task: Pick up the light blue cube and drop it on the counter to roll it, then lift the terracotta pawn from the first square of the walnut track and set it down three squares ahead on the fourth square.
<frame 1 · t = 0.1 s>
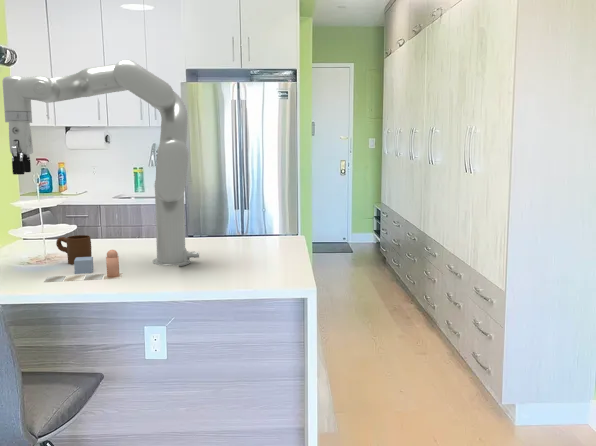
hand: (22, 173, 176), 31 cm above the countertop, fingers open, 9 cm apart
light blue cube: (84, 274, 177), on the countertop
pawn: (113, 276, 171), point 1 cm above the countertop, touching track
track: (84, 280, 170), on the countertop
mug: (74, 264, 190), on the countertop
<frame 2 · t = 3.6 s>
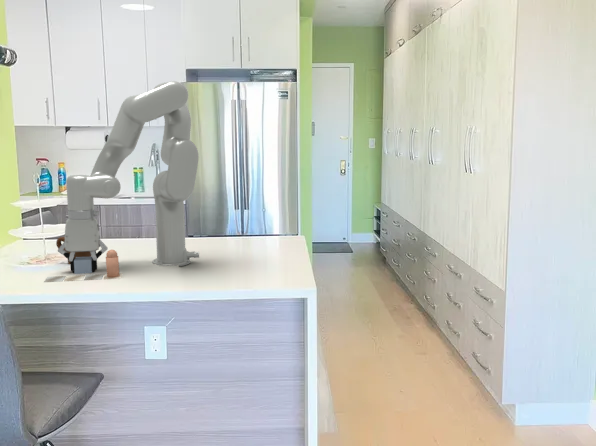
hand: (84, 271, 177), 1 cm above the countertop, fingers closed on light blue cube, 5 cm apart
light blue cube: (84, 274, 177), on the countertop, touching gripper
everything else where it was.
when the fingers open (8 cm above the countertop, at t = 5.3 s): light blue cube drops 8 cm, on the countertop.
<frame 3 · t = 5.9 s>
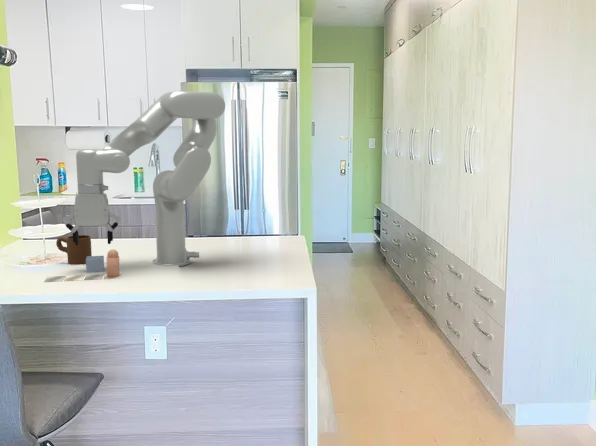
hand: (93, 243, 177), 9 cm above the countertop, fingers open, 9 cm apart
light blue cube: (95, 273, 179), on the countertop
everything else where it was.
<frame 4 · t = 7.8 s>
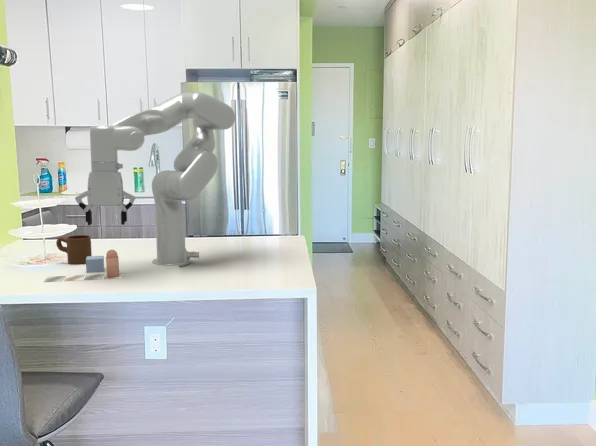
hand: (106, 224, 171), 16 cm above the countertop, fingers open, 9 cm apart
nothing on the countertop moved.
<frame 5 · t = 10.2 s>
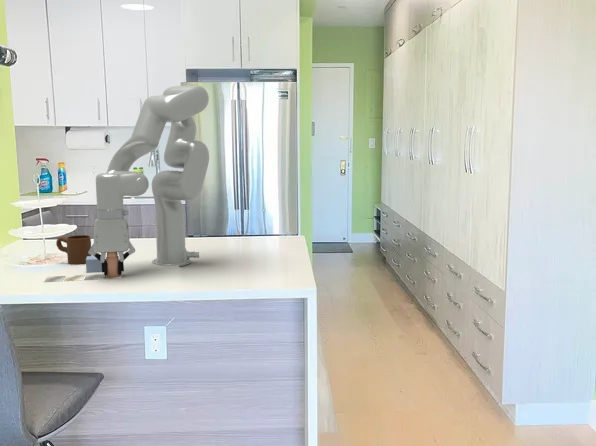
hand: (113, 273, 171), 2 cm above the countertop, fingers closed on pawn, 3 cm apart
pawn: (113, 276, 171), point 1 cm above the countertop, touching gripper, track
everything else where it was.
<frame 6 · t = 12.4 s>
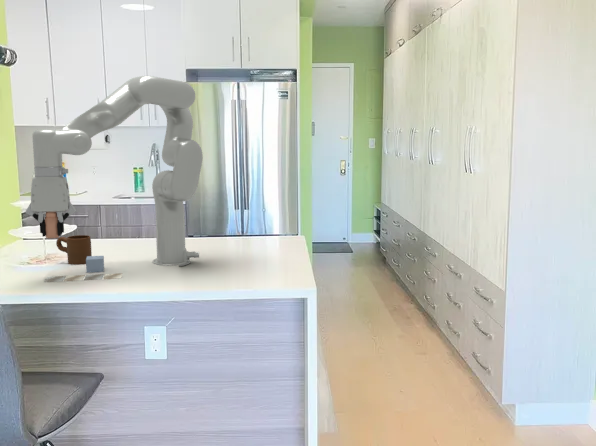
hand: (52, 234, 165), 14 cm above the countertop, fingers closed on pawn, 3 cm apart
pawn: (52, 237, 165), point 13 cm above the countertop, touching gripper
everything else where it was.
when the fingers open (3 cm above the countertop, at t = 14.7 s): pawn drops 1 cm, resting on track.
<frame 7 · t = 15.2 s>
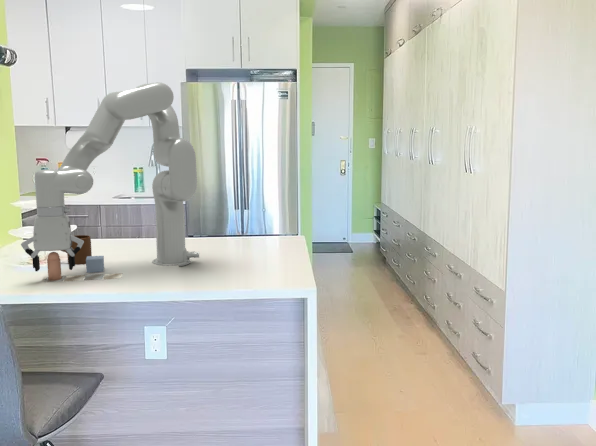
hand: (54, 269, 167), 4 cm above the countertop, fingers open, 9 cm apart
pawn: (55, 278, 167), point 1 cm above the countertop, touching track
everything else where it was.
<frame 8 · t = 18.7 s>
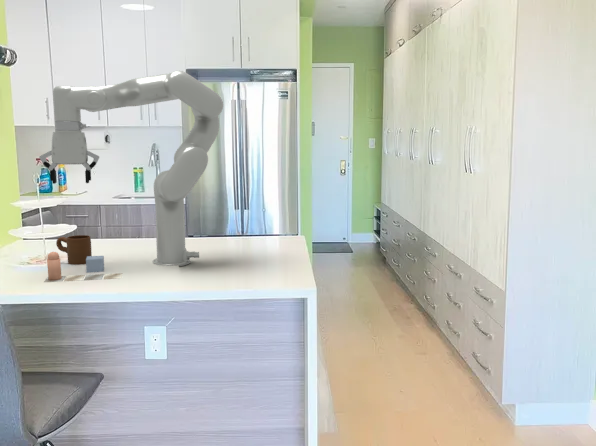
hand: (71, 183, 176), 28 cm above the countertop, fingers open, 9 cm apart
nothing on the countertop moved.
at the end: pawn 0.1 cm from the target spot on the track, point 0.8 cm above the track's base; pawn tilted 1°; light blue cube moved 3.4 cm from its start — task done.
